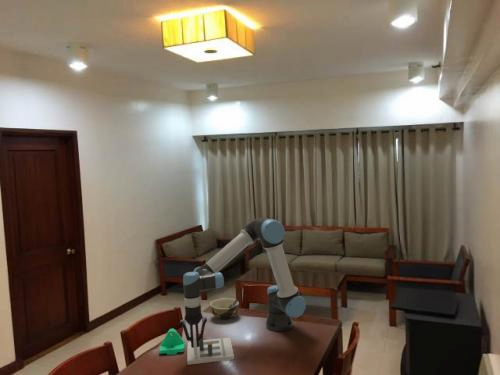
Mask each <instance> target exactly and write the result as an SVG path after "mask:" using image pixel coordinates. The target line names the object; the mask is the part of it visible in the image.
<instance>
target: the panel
mask: <svg viewBox="0 0 500 375" xmlns="http://www.w3.org/2000/svg"><path fill="white" fill-rule="evenodd" d="M208 342H212V354H213V355H208ZM203 346H204V350H200V347H197V355H194V348H192V347H191V341H188V342H187V354H186V356H187V357H186V362H187V365H188V366H189V365H195V364H196V365H197V364H204V363H205V364H206V363H213V362H224V361H231V360H235V355H234V350H233V346H232V342H231V337H223V338H213V339H203Z"/></svg>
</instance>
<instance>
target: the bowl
mask: <svg viewBox="0 0 500 375" xmlns="http://www.w3.org/2000/svg"><path fill="white" fill-rule="evenodd" d="M239 304H240V302H239V300H238V299H237V298H236V299H235V298H232V297H231V298H230V297H223V298H218V299H214V300H212V301H210V303H209V305H210V307H211V310H210V311H211V312H210V313H211V314H212V316H214V317H216V318H218V319H219V320H228V319H230V318H233V317H235V316H237V315H238V314H239V312H240V310H239ZM234 311H235V312H234Z"/></svg>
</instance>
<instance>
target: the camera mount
mask: <svg viewBox="0 0 500 375" xmlns="http://www.w3.org/2000/svg"><path fill="white" fill-rule="evenodd" d="M185 348H186V343H185V340H184V339H183V338H182V336H181V335H180V334H179V333H178V332H177V330H176V329H175V328H169V330H168V331H167V332H166V335H165V336H164V338H163V340H162V341H161V344H160V347H159V354H160V355H162V354H166V356H170V355H177V354H178V353H182V352H185Z"/></svg>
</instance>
